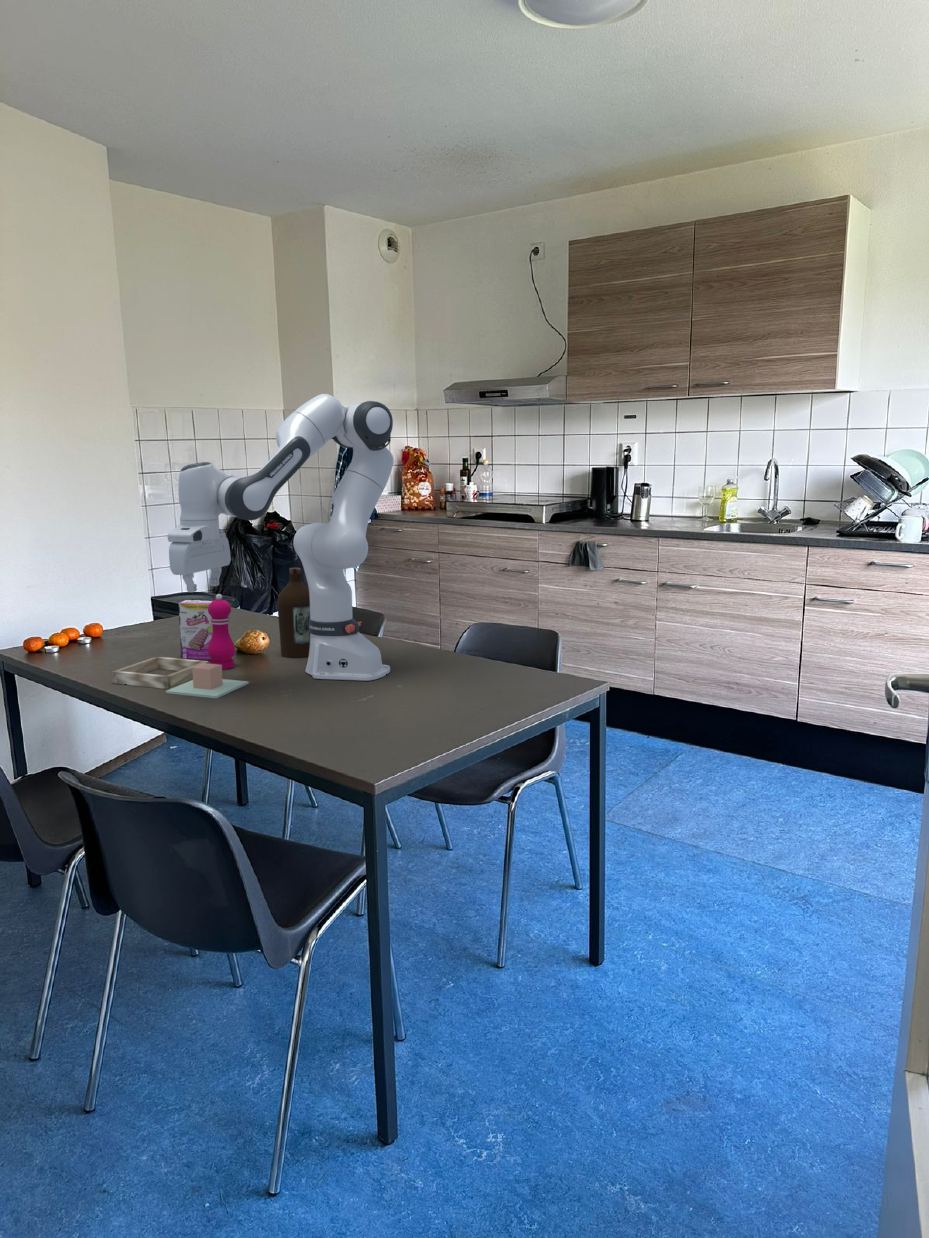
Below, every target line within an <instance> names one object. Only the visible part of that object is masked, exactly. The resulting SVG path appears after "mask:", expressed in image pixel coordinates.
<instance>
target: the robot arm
mask: <svg viewBox="0 0 929 1238" xmlns="http://www.w3.org/2000/svg"><path fill="white" fill-rule="evenodd" d="M393 425H394V420H393V416H392V412H391V411H390V409H389V408H388V407H387V406H386V405H385V404H383V403H382V402H379V401H374V400H367V401H363V402H358V403H354V404H352V405H349V406H344V405H342V403H341V402H340V400H338V399H337V397H334V396H333V395H331V394H328V393H321V394H318V395H316V396H314V397H312V398H311V399H309V400H307V401H306V402H304V403H303V404H302V405H300V406H299V407H297V409H295V410H294V411H293V412H292V413H290V414H289V415H288V416H287V417H286V418H285V420H283V421H282V423H281V424H280V425H279V427H278V428H277V429H276V431H275V440H276V441H275V442H276V445H277V447H278V450H277V451H276V453H275V454H274V455H273V456H272V457H270V459H269V460H268V461H267V462H266V463H265V464H264V465H263V466H262V467H261V468H260V469H259V470H258V471H257V472H255V473H253V474H251V475H247V476H236V475H234V474H231V473H228V472H225V471H223V470H222V469H220V468H218V467H217V466H215V465H214V464H213V463H212V462H209V461H208V462H207V461H205V462H204V461H203V462H194V463H190V464H187V465H185V466H183V467H181V469H180V471H179V475H178V502H179V506H180V511H181V512H180V516H179V523H180V524H178V525H177V526H176V527H175V528H174V529H172V530H170V531H169V532H168V533H167V541H168V542H169V543H170V544H169V548H168V560H169V561H168V562H169V569H170V572H171V573H172V574H173V575H177V576H181V577H182V579H183V581H184V583H185V585H186V592H187V593H194V592H197V591H198V588H197V584H196V583H195V582H194V577H195V576H194V575H195V574H196V573H200V572H204V571H208V570H209V571H210V572H212V573H211V576H210V578H209V586H210V587H217V586H220V577H221V574H222V568H223V567H225V566H229V565H231V564H230V563H231V561H232V559H231V549H230V544H229V543H230V542H229V540H228V537H227V534H226V533H225V531H224V530H223V529H222V528H220V519H219V516H220V515H222V514H223V515H225V516H230V517H233V518H234V517H235V518H238V519H241V520H243V521H249V522H250V521H255V520H258V519H260V518H262V517H263V516H264V515H265V514H266V513H267V512H268V510H269V509H270V507H271V505H272V502H273V500H274V498H275V496H276V494H277V493H278V491H280V490H281V488H283V486H284V485H285V484H286V483H287V482H289V480H290V479H291V478H292V477H293V476H294V475H295V474H296V472H297V471H298V470H299V469H300V468H301V467H302V466H303V465H304V464H305V463H306V462H307V461H308V460H309V459H310V458H311V457H312V456H314V455H315V454H316V453H318V452H319V450H320V449H322V448H323V447H324V445H326V444H327V443H328V442H329V441H330V440H333V441H334V442H335V443H336V444H337V445H339V446H341V447H342V448H346V449H352V457H351V458H352V459H351V462H350V463H349V465H348V466H347V468H346V470H345V472H344V474H343V476H342V478H341V479H340V481H339V483H338V485H337V487H336V488H335V490H334V492H333V494H332V496H331V497H332V498H331V501H332V504H333V509H332V513H331V514H332V515H331V516H330V520H329V521H328V523H323V522H313V523H309V524H305V525H303V526H301V527H300V528H299V529H298V530H297V531H296V533H295V534H294V537H293V549H294V551H295V553H296V555H298V558H299V560H300V561H301V564H302V566H303V571H304V574H305V578H306V582H307V586H308V587H307V588H308V589H309V597H310V619H309V638H310V649H309V656H308V658H307V664H306V667H305V670H304V672H305V673H307V674H308V675H310V676H312V678H313V679H315V680H316V679H318V680H339V681H340V680H344V681H364V682H365V681H369V682H370V681H374V680H378V679H381V678H383V677H385V676H386V674H387V675H388V674H389V673H391V666H390V665H388V664H383V661H382V654H381V651H380V649H379V647H378V646H376V645H375V644H374V643H373V642H372V641H370V640H369V638H366V636H364V635H363V634H362V633H360V630H359V629H360V626H362V621H357V620H356V619H355V618H354V617H353V591H352V590H353V589H352V587H351V585H350V584H349V583H348V581H347V579H346V576H345V573H344V570H345V569H346V570H347V569H352V568H357V567H358V566H361V564H363V563H364V562H365V560H366V558H367V557H368V553H369V543H368V540H367V529H368V526H369V521H370V518H371V516H372V513H373V512H374V510H375V508H376V506H377V504H378V502H379V499H380V498H381V496H382V494H383V493H384V490H385V489H386V486H387V484H388V482H389V480H390V476H391V473H392V470H393V468H394V464H395V463H394V462H395V460H394V455H393V454H392V452H391V451H390V449H389V448H387V447H388V446H389V444H390V443H391V440H392V439H391V438H392V437H391V435H392V431H393V428H394V427H393Z"/></svg>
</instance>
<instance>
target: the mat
mask: <svg viewBox="0 0 929 1238" xmlns="http://www.w3.org/2000/svg"><path fill="white" fill-rule="evenodd" d="M222 680H223V684H222V685H220V686H218V687H216V688H213V689H201V688H193V679H192V680H189V681H187V682H184V683H182V684H180V685H177V686H175V687H172V688H170V689H166V690H165V694H171V695H180V696H191V697H200V698H209V699H219V698H220V697H223V696H225V695H228V694H229V693H231V692H233V691H235V690H238V689H240V688H243V687H244V686H247V685H249V681H247V680H238V679H237V680H236V679H226V678H222Z"/></svg>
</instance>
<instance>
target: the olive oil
mask: <svg viewBox="0 0 929 1238" xmlns="http://www.w3.org/2000/svg"><path fill="white" fill-rule="evenodd" d="M301 571H302V568H300V567H290V568H289V574H288V575H289V581H288V583H287V584H286V585H285V586H284V588H283V589H282V590H281V591H280V592H279V593H278V596H277V601H276V605H277V617H278V629H279V643H280V655H281V656H282V657H284V658H285V657H286V658H292V659H294V658H295V659H299V658H307V657H309V649H310V638H309V619H310V597H309V587H307V585H305V584H304V582H303V581H302V572H301Z"/></svg>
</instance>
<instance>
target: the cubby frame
mask: <svg viewBox="0 0 929 1238" xmlns="http://www.w3.org/2000/svg"><path fill="white" fill-rule="evenodd" d="M203 663H208V664H210V661H200V660H189V659H181V658H179V657H178V658H175V657H168V656H167V657H164V656H154V657H151V658H148V659H145V660H142V661H139V662H136V663H133V664H131V665H130V664H129V665H127V666H124V667H122V668H119V669H115V670H113V671H111V679H112V680H111V682H112V684H117V685H124V684H127V686H135V687H145V688H154V689H163V690H164V689H165V690H169V689H172V688H174V687H176V686H179V685H181V684H184V683H186V682H189V681H191V680H193V672H192V668H193V667H196V666H198V665H201V664H203ZM155 670H168V671H175V672H172V673H169V674H167V675H164V674H152V673H149V672H153V671H155Z"/></svg>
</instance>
